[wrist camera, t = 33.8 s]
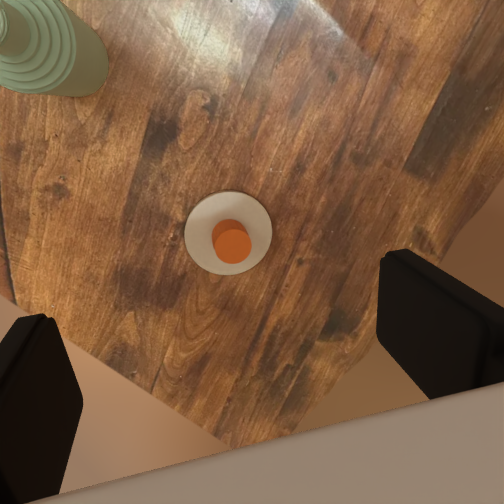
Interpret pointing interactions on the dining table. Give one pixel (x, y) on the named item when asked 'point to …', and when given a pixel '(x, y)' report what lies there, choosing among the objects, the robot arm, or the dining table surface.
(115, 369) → the dining table surface
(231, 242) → the cap
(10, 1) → the bottle
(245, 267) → the coaster
